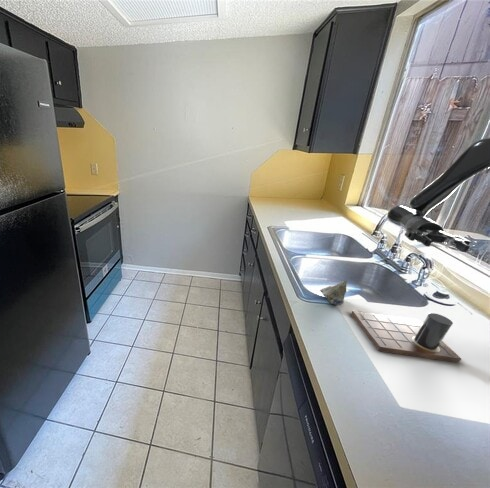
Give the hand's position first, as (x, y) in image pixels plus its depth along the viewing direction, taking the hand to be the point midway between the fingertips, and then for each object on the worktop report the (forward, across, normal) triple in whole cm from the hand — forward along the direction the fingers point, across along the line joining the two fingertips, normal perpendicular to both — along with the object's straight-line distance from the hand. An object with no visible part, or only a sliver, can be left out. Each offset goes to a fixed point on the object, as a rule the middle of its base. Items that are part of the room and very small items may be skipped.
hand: (447, 246), depth 77 cm
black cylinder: (+17, -3, +24) cm, 30 cm away
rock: (+3, -25, +26) cm, 36 cm away
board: (+14, -8, +26) cm, 31 cm away
